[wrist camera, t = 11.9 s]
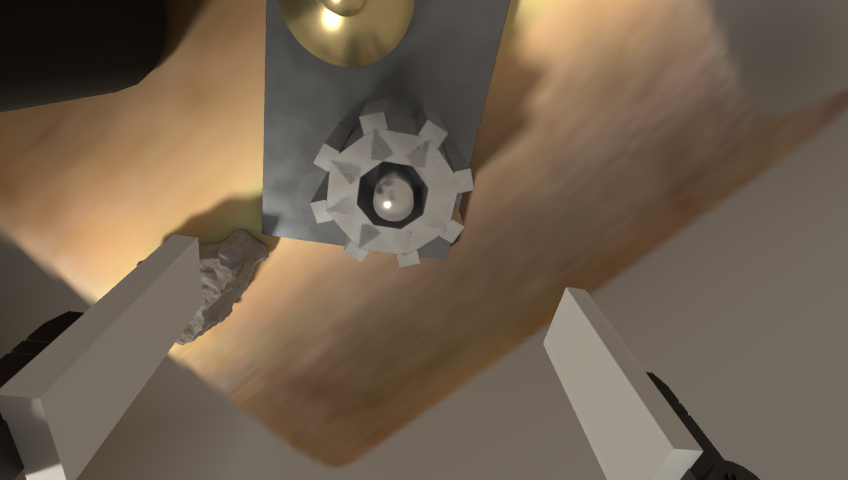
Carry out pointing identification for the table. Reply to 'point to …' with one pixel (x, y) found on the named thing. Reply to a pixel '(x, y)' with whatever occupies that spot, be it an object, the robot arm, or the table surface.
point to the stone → (223, 279)
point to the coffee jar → (75, 48)
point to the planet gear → (353, 194)
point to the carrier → (367, 94)
